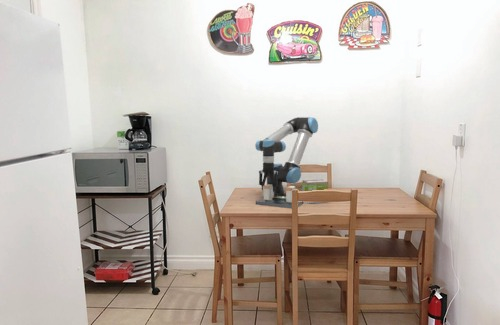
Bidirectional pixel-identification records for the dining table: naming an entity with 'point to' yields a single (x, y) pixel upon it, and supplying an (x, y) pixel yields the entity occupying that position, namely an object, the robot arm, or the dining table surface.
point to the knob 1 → (268, 192)
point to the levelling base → (276, 202)
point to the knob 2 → (289, 193)
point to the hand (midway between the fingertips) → (268, 195)
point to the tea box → (314, 186)
